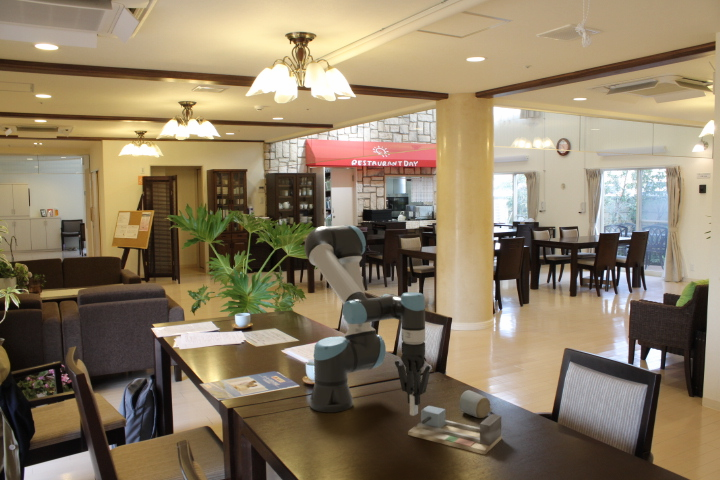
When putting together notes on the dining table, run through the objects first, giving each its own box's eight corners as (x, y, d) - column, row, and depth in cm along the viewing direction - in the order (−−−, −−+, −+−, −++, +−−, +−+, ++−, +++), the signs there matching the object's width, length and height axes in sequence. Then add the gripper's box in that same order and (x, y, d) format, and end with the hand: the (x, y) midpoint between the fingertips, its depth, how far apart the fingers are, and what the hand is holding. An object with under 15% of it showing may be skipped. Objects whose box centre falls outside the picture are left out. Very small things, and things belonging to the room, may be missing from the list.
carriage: (414, 430, 178) (414, 414, 177) (428, 420, 185) (428, 405, 185) (431, 434, 174) (431, 418, 174) (445, 424, 182) (445, 409, 182)
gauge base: (408, 434, 178) (408, 412, 177) (428, 421, 188) (428, 399, 188) (484, 454, 164) (484, 429, 163) (501, 438, 174) (501, 415, 174)
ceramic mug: (477, 421, 188) (478, 398, 187) (458, 414, 194) (458, 392, 193) (498, 414, 194) (498, 392, 194) (478, 407, 201) (479, 385, 200)
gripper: (389, 341, 184) (390, 413, 186) (425, 346, 177) (426, 421, 179) (401, 336, 191) (402, 406, 192) (437, 341, 183) (437, 414, 185)
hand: (413, 413), depth 185 cm, fingers closed
